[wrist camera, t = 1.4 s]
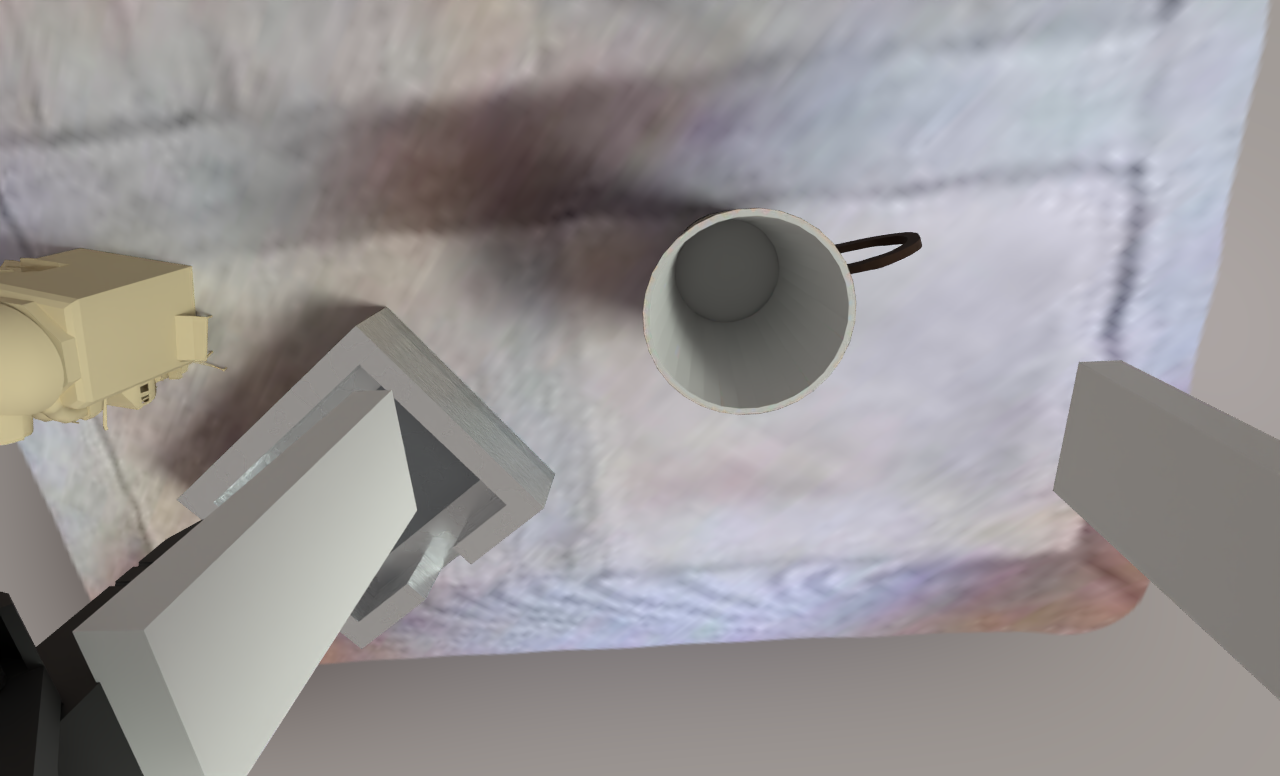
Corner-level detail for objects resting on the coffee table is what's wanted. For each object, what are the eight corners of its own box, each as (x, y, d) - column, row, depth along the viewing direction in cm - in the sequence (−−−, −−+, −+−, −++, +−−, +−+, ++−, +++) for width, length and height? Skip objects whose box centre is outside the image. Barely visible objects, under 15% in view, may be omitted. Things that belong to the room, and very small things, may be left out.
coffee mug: (641, 338, 37) (633, 404, 28) (655, 181, 34) (653, 197, 25) (843, 357, 37) (902, 430, 28) (876, 202, 34) (955, 226, 25)
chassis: (220, 466, 41) (176, 499, 38) (386, 306, 37) (355, 325, 34) (386, 606, 45) (361, 649, 41) (554, 474, 41) (543, 508, 37)
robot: (57, 372, 39) (-277, 500, 25) (33, 237, 37) (-358, 298, 23) (230, 399, 40) (-5, 541, 26) (221, 268, 37) (-51, 347, 23)
